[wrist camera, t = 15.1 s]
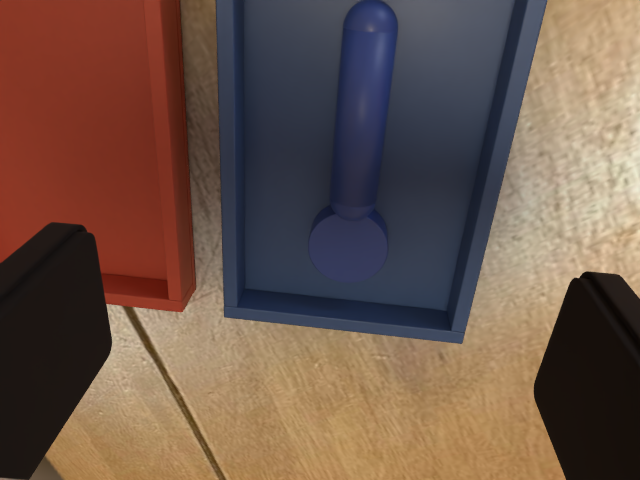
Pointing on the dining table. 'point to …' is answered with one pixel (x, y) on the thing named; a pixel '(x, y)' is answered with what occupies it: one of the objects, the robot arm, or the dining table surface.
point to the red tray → (99, 139)
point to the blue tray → (396, 166)
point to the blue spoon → (358, 149)
